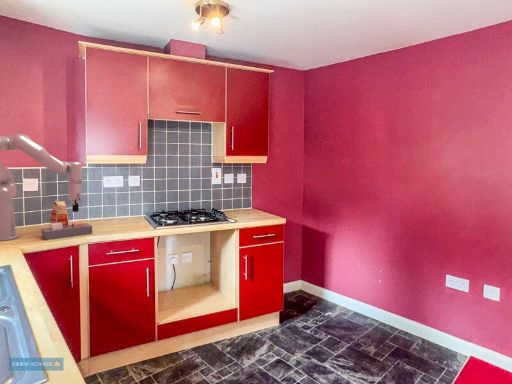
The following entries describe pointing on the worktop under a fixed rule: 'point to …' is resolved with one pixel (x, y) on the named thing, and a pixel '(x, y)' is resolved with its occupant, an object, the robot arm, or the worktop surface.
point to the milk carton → (59, 213)
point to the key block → (66, 232)
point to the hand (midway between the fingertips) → (75, 211)
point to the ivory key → (56, 226)
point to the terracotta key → (77, 224)
